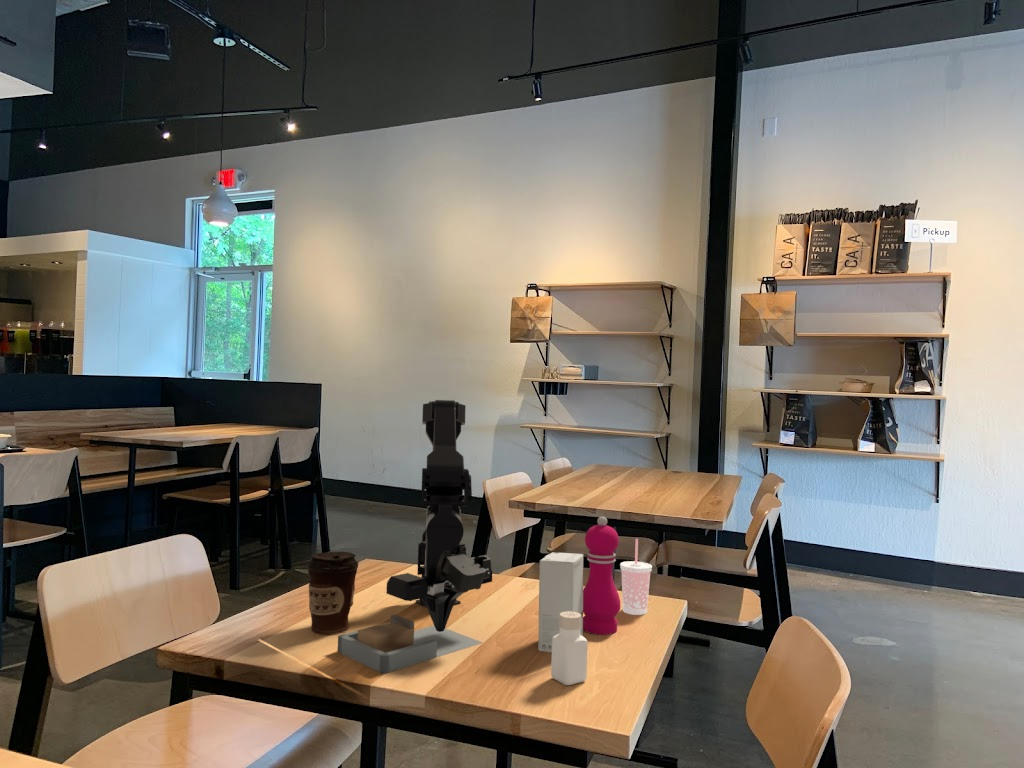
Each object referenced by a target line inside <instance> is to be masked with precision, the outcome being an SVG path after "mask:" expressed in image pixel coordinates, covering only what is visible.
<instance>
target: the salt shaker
mask: <svg viewBox="0 0 1024 768" xmlns="http://www.w3.org/2000/svg"><path fill="white" fill-rule="evenodd" d="M559 628H560V634H557V635H555V636H554V637H553V638H552V652H551V664H550V666H551V667H550V669H551V670H550V671H551V673H550V674H551V675H550V676H551V678H552V679H554V680H555V681H557V682H559V683H561V684H562V685H564V686H571V685H575V684H579V683H583V682H585V681H586V679H587V676H588V675H587V673H588V670H587V669H588V640H587V638H585V637H584V635H583V636H582V635H580V629H581V614H579V613H577V612H570V611H567V612H562V613H560V616H559Z"/></svg>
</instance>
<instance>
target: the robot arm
mask: <svg viewBox="0 0 1024 768" xmlns="http://www.w3.org/2000/svg"><path fill="white" fill-rule="evenodd" d="M466 410H467V409H466V405H465V404H462V403H460V402H459V401H455V399H453V400H452V399H450V400H449V399H435V400H432V401H430V400H429V401H428V402H427V403H423V404H422V415H421V416H422V421H421V422H422V423H421V424H422V425H425V435H426V437H427V439H428V440H429V442H430V445H431V446H432V451H431V452H430V453H429V454H427V456H426V467H423V468H421V492H420V493H421V494H420V495H421V496H420V497H421V499H420V506H421V507H424V506H425V507H427V509H426V512H425V513H426V515H425V516H426V520H425V521H426V522H425V524H426V525H425V529H424V531H423V533H422V535H421V536H422V537H421V538H422V539H421V542H418V544H417V545H418V548H417V575H415V574H412V573H409V572H407V573H406V572H405V573H402V574H396V575H391V576H390V577H389V578H388V580H387V582H386V592H385V593H386V595H389V596H392V597H395V598H397V599H400V600H403V601H405V602H411V601H415V604H418V605H421V606H423V607H426V609H427V611H428V614H429V616H430V619H431V621H432V623H433V626H435V628H436V630H437V631H438V632H442V631H444V629H445V628H446V626H447V624H448V621H449V619H450V615H451V612H452V610H453V608H454V607H455V606H457V605H461V603H462V602H461V600H458V598H460V596H462V595H463V594H464V593H468V591H473V590H480V589H481V587H482V585H484V584H488V583H492V582H493V569H492V562H491V559H492V558H490V557H489V556H488V555H487V554H484V555H483V554H482V555H479V556H476V557H475V556H473V557H472V556H471V557H469V556H468V555H467V547H466V544H465V543H462V542H461V541H462V540H463V538H464V537H463V536H464V525H463V522H462V514H461V513H462V509H461V507H469V501H472V496H473V493H472V491H473V490H472V475H471V474H470V470H468V468H465V462H464V461H465V460H464V456H463V455H462V454H461V453H460V452H459V451H458V449H457V440H458V439H459V437H460V435H461V433H462V426H465V424H466ZM425 495H426V499H425Z"/></svg>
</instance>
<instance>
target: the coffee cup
mask: <svg viewBox="0 0 1024 768" xmlns="http://www.w3.org/2000/svg"><path fill="white" fill-rule="evenodd" d="M311 557H312V558H311V559H310V561H309V562H308V565H307V572H308V578H309V579H308V580H309V581H308V599H309V601H308V602H309V603H308V607H309V608H308V610H309V613H310V617H311V618H310V619H311V626H310V627H311V628H310V630H311V632H312V633H313V634H317V635H319V636H320V635H322V636H323V635H324V636H333V635H334V636H335V635H336V636H337V635H342V634H346V633H348V631H350V629H351V627H350V624H349V615H350V611H351V608H352V606H354V596H355V591H356V588H355V587H356V584H355V582H356V577H357V573H358V568H359V561H357V560H356V559H355V557H356V554H354V553H352V552H348V551H329V552H317V553H314V554H312V556H311Z"/></svg>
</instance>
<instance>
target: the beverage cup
mask: <svg viewBox="0 0 1024 768" xmlns="http://www.w3.org/2000/svg"><path fill="white" fill-rule="evenodd" d="M634 544H635V547H634V548H635V551H634V560H633V561H632V560H631V561H629V560H627V561H623V562H620V564H619V566H620V568H619V569H620V570H621V594H622V595H621V596H622V599H621V600H622V611H623V612H624V613H625V614H629V615H633V616H634V615H636V616H640V615H641V616H642V615H645V614H647V613H648V603H649V591H650V580H651V572H652V571H653V569H652V568H653V565H652V564H650V563H648V562H644V561H638V556H639V555H638V553H639V538H635V543H634Z"/></svg>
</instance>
